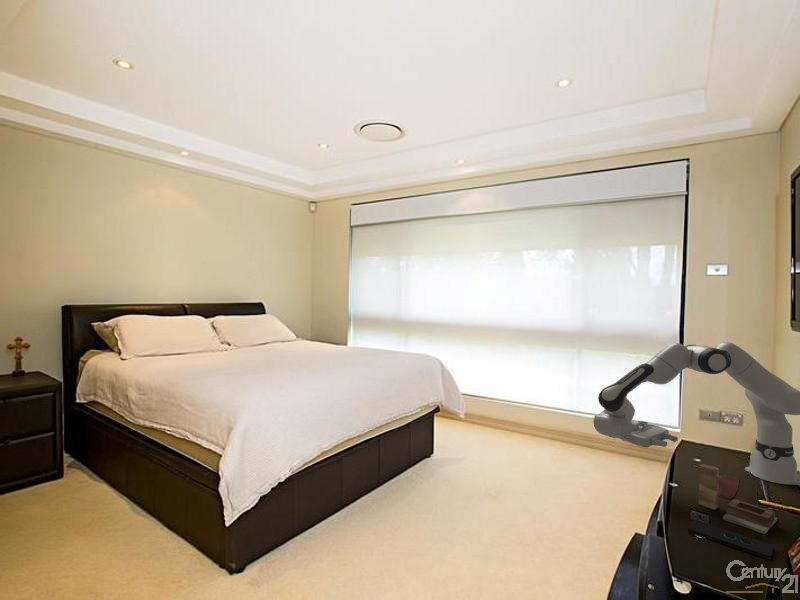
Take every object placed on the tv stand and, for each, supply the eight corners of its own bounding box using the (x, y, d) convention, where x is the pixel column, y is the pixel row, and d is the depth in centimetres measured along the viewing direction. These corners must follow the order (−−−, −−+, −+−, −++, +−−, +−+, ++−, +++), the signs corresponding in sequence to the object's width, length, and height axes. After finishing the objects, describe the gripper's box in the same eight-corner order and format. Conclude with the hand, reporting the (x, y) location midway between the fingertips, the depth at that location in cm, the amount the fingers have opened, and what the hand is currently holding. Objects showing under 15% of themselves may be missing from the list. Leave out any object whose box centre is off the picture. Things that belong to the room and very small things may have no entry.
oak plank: (701, 502, 158) (702, 463, 158) (717, 507, 154) (718, 468, 154) (698, 504, 156) (699, 465, 156) (714, 509, 152) (715, 470, 152)
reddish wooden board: (732, 502, 160) (732, 497, 159) (699, 492, 167) (700, 488, 167) (743, 480, 178) (743, 476, 178) (714, 473, 185) (714, 469, 185)
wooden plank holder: (736, 507, 154) (737, 496, 154) (776, 520, 145) (777, 508, 145) (723, 519, 146) (723, 507, 146) (764, 534, 137) (765, 521, 137)
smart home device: (770, 556, 123) (687, 528, 138) (770, 562, 123) (687, 533, 138) (773, 544, 129) (694, 518, 143) (773, 550, 129) (694, 524, 143)
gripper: (621, 429, 169) (659, 438, 158) (645, 420, 181) (682, 429, 170) (621, 445, 169) (659, 456, 158) (645, 435, 182) (682, 445, 170)
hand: (671, 442), depth 164 cm, fingers open, 8 cm apart
